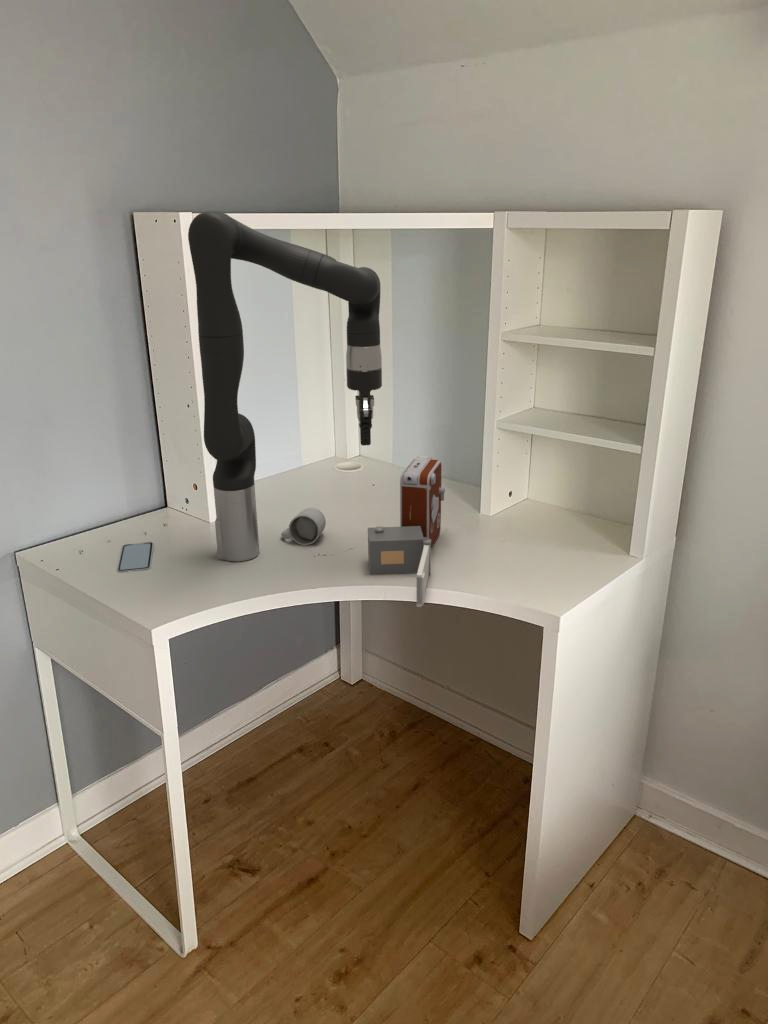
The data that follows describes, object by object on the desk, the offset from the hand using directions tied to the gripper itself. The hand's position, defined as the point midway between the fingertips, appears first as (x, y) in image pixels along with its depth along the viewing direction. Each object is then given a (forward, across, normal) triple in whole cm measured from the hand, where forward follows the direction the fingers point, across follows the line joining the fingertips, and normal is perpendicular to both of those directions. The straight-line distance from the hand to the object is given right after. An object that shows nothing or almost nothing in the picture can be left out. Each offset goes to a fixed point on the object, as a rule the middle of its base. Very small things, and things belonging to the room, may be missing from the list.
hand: (365, 444), depth 175 cm
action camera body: (+27, +7, +7) cm, 29 cm away
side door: (+27, +18, +11) cm, 34 cm away
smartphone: (+28, -4, -54) cm, 61 cm away
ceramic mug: (+27, -12, -15) cm, 33 cm away
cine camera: (+27, -9, +14) cm, 32 cm away
